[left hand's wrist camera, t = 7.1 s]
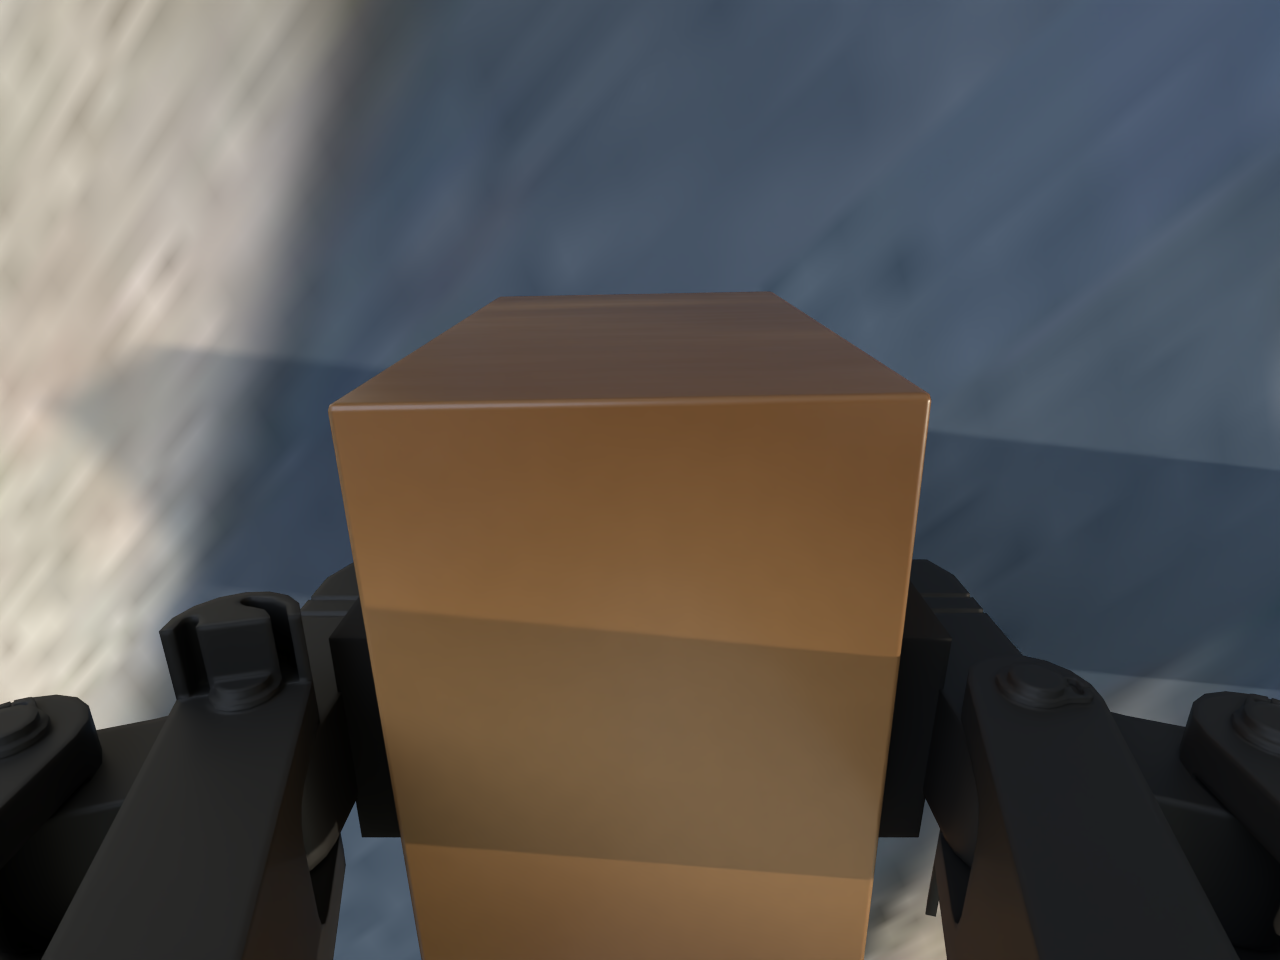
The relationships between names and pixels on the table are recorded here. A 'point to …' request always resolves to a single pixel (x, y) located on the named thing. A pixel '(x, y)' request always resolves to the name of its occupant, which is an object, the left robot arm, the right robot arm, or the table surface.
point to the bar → (635, 623)
